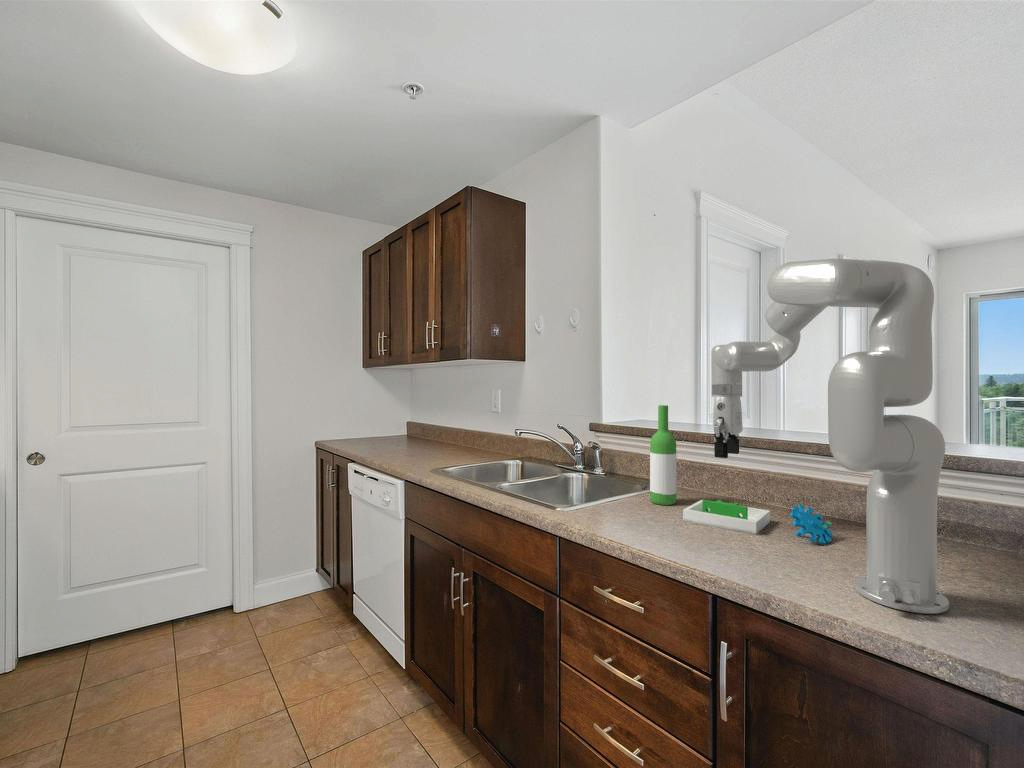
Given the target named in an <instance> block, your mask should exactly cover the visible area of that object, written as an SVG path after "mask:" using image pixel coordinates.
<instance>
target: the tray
mask: <svg viewBox="0 0 1024 768" xmlns="http://www.w3.org/2000/svg"><path fill="white" fill-rule="evenodd" d="M703 500H704V499H701V500H699V501H696V502H695V503H692V504H691V505H689V506H687V507H685V508H683V509H682V521H684V522H689V523H693V524H697V525H698V524H699V525H703V526H709V527H714V528H719V529H724V530H725V529H726V530H730V531H734V532H735V531H736V532H741V533H745V534H751V535H755V536H756V535H758V534H759V533H760V532H761V531H762V530H763V529H764V528H765V527H766V526H767V525H768V524H770V522H771V510H770V509H769V510H768V509H761V508H755V507H751V506H750V507H749V506H747V507H748V520H746V519H740V518H734V517H728V516H723V515H717V514H711V513H705V512H702V501H703ZM707 509H708V511H710V509H709V508H707ZM739 515H740V516H741V517H742V514H741V513H739Z"/></svg>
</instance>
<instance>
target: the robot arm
mask: <svg viewBox="0 0 1024 768" xmlns="http://www.w3.org/2000/svg"><path fill="white" fill-rule="evenodd" d="M767 294H768V296H769V298H770V299H771V300H772V301H773V303H771V304H770V305H768V307H767V309H766V311H765V312H764V318H765V321H766V323H767V325H768V326H769V328H770V329H772V331H774V332H775V333H776V334H775V335H774V336H772V338H770V340H768V341H733V342H730V343H727V344H719V345H714V346H713V347H712V348H711V352H710V353H711V355H710V356H711V359H710V361H711V364H710V365H711V398H712V397H713V398H714V401H713V412H712V414H713V417H712V418H713V421H712V423H713V424H712V425H713V427H712V428H713V432H714V433H713V435H714V439H713V441H714V445H713V446H714V457H715V458H719V459H722V458H723V459H728V458H729V454H732V455H733V454H734V455H739V454H740V434H741V433H742V432H743V430H744V429H743V426H744V425H743V411H742V410H743V409H742V400H741V397H742V398H743V372H744V373H745V372H746V373H747V372H771V371H774V370H776V369H778V368H779V367H781V366H782V365H784V364H785V363H787V361H788V360H789V359H791V358H792V357H793V355H795V354H796V352H797V350H798V348H799V345H800V343H801V342H800V341H801V332H802V330H803V329H804V328H806V326H807V325H809V324H810V323H811V322H812V321H813V320H814V319H815V318H817V316H819V315H820V314H821V313H822V312H823V311H824V310H826V309H827V308H828V307H833V308H835V307H838V308H839V307H840V308H872V309H873V308H874V309H877V310H878V311H877V312H876V313H875V315H874V317H873V319H872V321H871V323H870V326H869V330H868V342H869V344H868V351H865V350H864V351H856V352H851V353H848V354H846V355H844V356H842V357H841V358H840V359H839V360H838V361H836V363H835V364H834V366H833V367H832V369H831V372H830V373H829V377H828V383H827V425H828V426H827V427H828V428H827V431H828V442H829V443H828V445H829V450H830V452H831V455H832V457H833V458H834V460H835V461H836V463H837V464H838V465H840V466H841V467H843V468H844V469H846V470H848V471H852V472H855V473H871V477H870V478H869V481H868V485H867V489H866V502H865V503H866V507H865V508H866V510H865V511H866V515H865V517H866V518H865V520H866V522H865V524H866V525H865V528H866V529H865V532H866V533H865V535H866V536H865V537H866V539H865V541H866V542H865V550H866V551H865V559H866V560H865V562H866V563H865V576H861V577H860V578H857V579H856V580H855V589H856V591H857V592H858V593H859V594H860V595H861V596H863V597H864V598H866V599H868V600H870V601H871V602H875V603H876V604H879V605H882V606H886V607H888V608H890V609H891V608H893V609H895V610H898V611H899V610H900V611H902V612H903V611H904V612H910V613H916V614H923V615H926V614H927V615H933V614H935V615H936V614H942V613H946V612H947V611H949V609H950V601H949V599H948V598H947V597H946V596H945V595H943V594H942V592H939V591H938V590H937V588H938V586H937V584H938V583H937V580H938V579H937V577H938V575H937V574H938V571H937V569H938V567H937V565H938V562H937V560H938V559H937V557H938V554H937V553H938V494H939V493H938V492H939V482H940V475H941V473H942V472H941V471H942V467H943V464H944V459H945V455H946V440H945V438H944V435H943V433H942V432H941V430H940V429H939V428H938V426H937V425H935V423H933V422H931V421H930V420H927V419H926V418H923V417H921V416H916V415H911V414H885V412H884V411H885V408H899V407H901V408H902V407H912V406H916V405H918V404H921V403H923V402H925V401H926V400H928V398H929V397H930V395H931V394H932V389H933V384H934V383H933V381H934V375H933V374H934V372H933V371H934V370H933V368H934V367H933V334H932V333H933V332H932V329H933V328H932V321H933V311H934V304H935V303H934V300H935V290H934V285H933V283H932V281H931V278H930V277H929V275H928V274H927V273H926V272H924V270H923V269H921V268H919V267H916V266H914V265H911V264H907V263H903V262H897V261H889V260H888V261H886V260H876V259H875V260H872V259H871V260H870V259H853V258H825V259H823V258H822V259H813V260H799V261H788V262H785V263H783V264H781V265H779V266H777V268H776V269H774V271H773V272H772V273H771V274H770V276H769V279H768V282H767Z"/></svg>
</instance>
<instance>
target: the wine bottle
mask: <svg viewBox="0 0 1024 768" xmlns="http://www.w3.org/2000/svg"><path fill="white" fill-rule="evenodd" d="M657 407H658V408H657V409H658V410H657V411H658V412H657V414H658V415H657V416H658V417H657V431H656V432H655V433H654V434H653V435H652V436H651V438H650V443H649V454H650V455H649V497H650V502H652V503H653V504H656V505H660V506H670V505H674V504H675V503H676V502H677V442H676V439H675V437H674V435H673V434H672V433H671V432H670V431H669V406H668V404H660V405H658V406H657Z"/></svg>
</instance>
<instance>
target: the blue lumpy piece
mask: <svg viewBox="0 0 1024 768" xmlns="http://www.w3.org/2000/svg"><path fill="white" fill-rule="evenodd" d="M791 511H792V512H791V513H790V514H789V517H791V518H793V519H794V520H793V521H792V524H793V526H794V527H800V529H798V530H797V531H796V532H795V535H796V536H797V537H801V536H805V535H807V534H810V536H809V537H808V540H809V541H810V542H811V543H815V542H816V541H817V544H819V545H820V546H821V545H822V546H824V545H826V544H828V543H830V542H832V538H831V536H833V531H831V530H829V528H830V526H831V525H832V524H833V523H832V522H831V521H830V520H827V521H822V519H823V518H824V517H823V516H822V515H821V513H817V514H815V515H813V514H812V513H814V509H813V508H812V507H810V506H808V507H807V508H806V507H805V506H804V505H803V504H799V505H795V506H793V507H792V508H791ZM817 538H818V539H817Z"/></svg>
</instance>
